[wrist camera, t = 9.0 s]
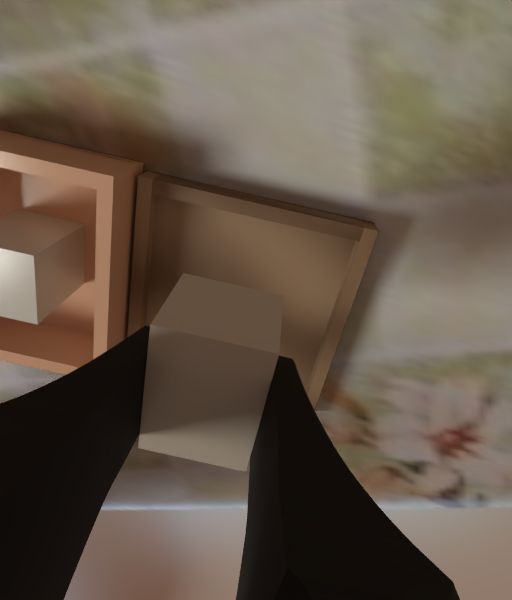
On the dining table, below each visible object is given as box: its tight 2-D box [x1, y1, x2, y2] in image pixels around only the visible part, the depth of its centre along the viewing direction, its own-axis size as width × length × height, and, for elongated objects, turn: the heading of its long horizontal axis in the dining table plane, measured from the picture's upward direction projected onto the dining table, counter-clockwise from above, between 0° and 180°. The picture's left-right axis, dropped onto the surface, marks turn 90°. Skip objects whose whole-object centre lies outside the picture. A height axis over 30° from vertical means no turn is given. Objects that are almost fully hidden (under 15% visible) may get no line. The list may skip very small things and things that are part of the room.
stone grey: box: [0, 209, 85, 325], centre depth 17 cm, size 4×3×3 cm
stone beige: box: [138, 273, 284, 472], centre depth 12 cm, size 4×3×3 cm
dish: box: [0, 130, 144, 375], centre depth 18 cm, size 10×8×3 cm
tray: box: [127, 171, 379, 410], centre depth 20 cm, size 11×10×1 cm
